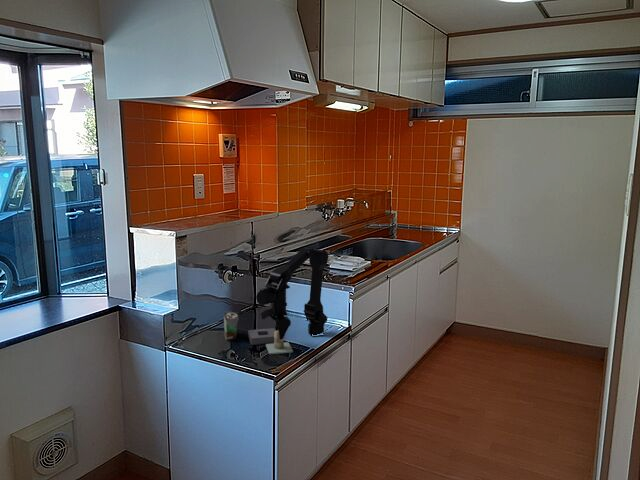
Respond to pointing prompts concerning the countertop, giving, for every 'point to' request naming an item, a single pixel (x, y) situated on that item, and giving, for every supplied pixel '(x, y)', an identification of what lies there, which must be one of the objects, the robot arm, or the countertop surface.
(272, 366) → the countertop surface
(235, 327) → the food container
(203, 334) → the countertop surface
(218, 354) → the countertop surface
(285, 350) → the mat
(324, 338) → the countertop surface
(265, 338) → the grey square frame
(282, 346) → the plug
